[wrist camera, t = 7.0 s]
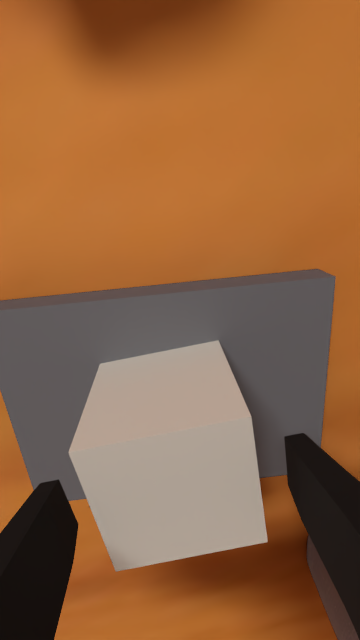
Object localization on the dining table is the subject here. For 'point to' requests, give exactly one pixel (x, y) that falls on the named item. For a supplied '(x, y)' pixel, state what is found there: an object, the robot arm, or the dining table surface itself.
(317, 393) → the serving board
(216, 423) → the cube
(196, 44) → the dining table surface
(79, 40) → the dining table surface
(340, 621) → the pillar candle
